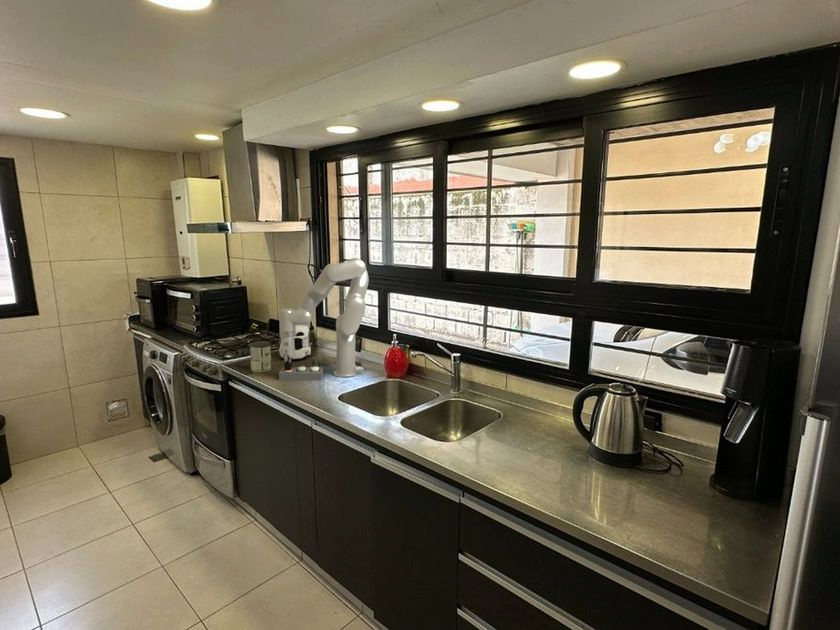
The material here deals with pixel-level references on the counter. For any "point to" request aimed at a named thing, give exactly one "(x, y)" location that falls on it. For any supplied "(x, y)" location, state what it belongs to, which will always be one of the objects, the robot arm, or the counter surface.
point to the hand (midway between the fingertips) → (288, 369)
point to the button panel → (301, 374)
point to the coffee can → (260, 356)
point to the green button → (301, 369)
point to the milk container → (300, 343)
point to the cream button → (315, 369)
